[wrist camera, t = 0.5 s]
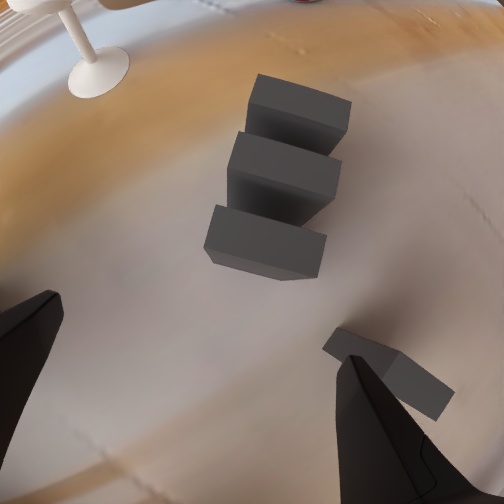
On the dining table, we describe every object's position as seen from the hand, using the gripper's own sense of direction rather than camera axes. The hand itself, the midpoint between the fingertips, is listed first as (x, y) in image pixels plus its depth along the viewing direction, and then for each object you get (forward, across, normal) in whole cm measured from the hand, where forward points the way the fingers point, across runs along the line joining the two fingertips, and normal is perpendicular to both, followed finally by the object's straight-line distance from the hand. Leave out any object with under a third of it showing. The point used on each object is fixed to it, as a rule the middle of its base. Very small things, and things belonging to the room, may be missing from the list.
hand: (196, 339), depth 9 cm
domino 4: (+11, -11, +10) cm, 19 cm away
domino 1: (+19, -2, -1) cm, 19 cm away
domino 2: (+16, -2, +2) cm, 17 cm away
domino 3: (+14, -2, +6) cm, 15 cm away
